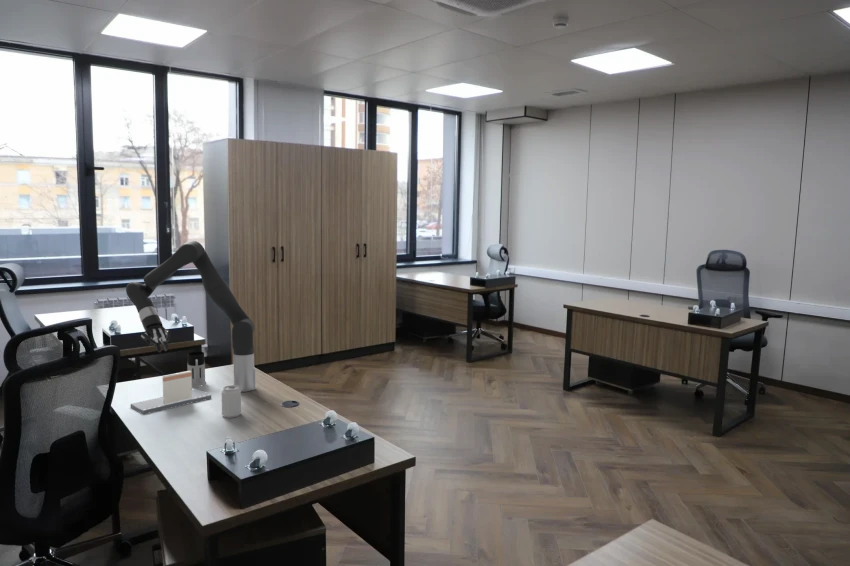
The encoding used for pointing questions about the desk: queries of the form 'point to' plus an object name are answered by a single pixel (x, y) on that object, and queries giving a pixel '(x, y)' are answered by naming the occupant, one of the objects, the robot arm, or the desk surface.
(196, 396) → the board
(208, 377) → the desk surface
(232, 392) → the can
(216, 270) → the robot arm
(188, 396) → the white square panel
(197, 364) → the glass holder
